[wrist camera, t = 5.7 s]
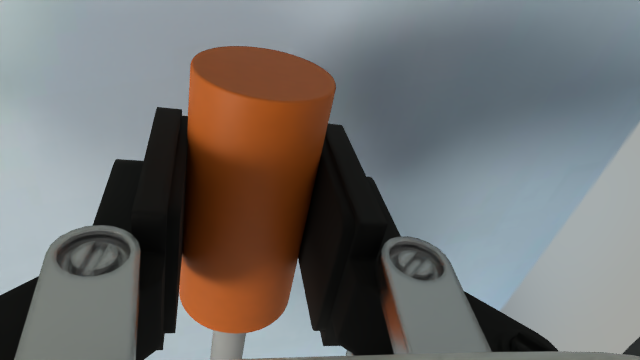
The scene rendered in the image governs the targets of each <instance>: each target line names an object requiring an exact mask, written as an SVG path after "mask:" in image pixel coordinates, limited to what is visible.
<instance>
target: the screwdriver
mask: <svg viewBox="0 0 640 360" xmlns="http://www.w3.org/2000/svg"><path fill="white" fill-rule="evenodd" d="M335 90H336V84H335V81H334V79H333V77H332V76H331V75H330V74H329V73H328V72H327V71H326V70H324V69H323V68H321V67H320V66H318V65H316V64H314V63H312V62H310V61H308V60H305V59H303V58H300V57H297V56H294V55H291V54H288V53H284V52H280V51H276V50H271V49H265V48H257V47H246V46H228V47H218V48H212V49H208V50H205V51H202V52H200V53H198V54H197V55H196V56H195V57H194V58H193V59H192V62H191V67H190V87H189V107H188V127H187V139H188V154H187V173H186V193H185V212H184V231H183V251H182V263H181V274H180V287H179V294H180V300H181V302H182V305H183V307H184V308H185V310H186V311H187V313H188V314H189V315H190V316H191V317H192V318H193V319H194V320H195V321H197V322H198V323H200V324H201V325H203V326H205V327H207V328H209V329H212V330H213V338H212V347H211V356H210V360H232V359H242V354H243V348H244V342H245V336H246V333H248V332H253V331H256V330H260V329H262V328H264V327H266V326H268V325H270V324H272V323H273V322H274V321H275V320H277V319H278V318H279V317H280V316H281V314H282V313H283V312H284V310H285V308H286V306H287V304H288V300H289V296H290V291H291V287H292V282H293V278H294V273H295V269H296V264H297V260H298V255H299V251H300V246H301V242H302V238H303V233H304V229H305V224H306V220H307V215H308V211H309V206H310V202H311V197H312V193H313V188H314V184H315V179H316V175H317V170H318V166H319V162H320V157H321V153H322V148H323V144H324V139H325V135H326V130H327V126H328V121H329V117H330V112H331V108H332V103H333V99H334V94H335Z"/></svg>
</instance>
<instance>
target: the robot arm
mask: <svg viewBox="0 0 640 360" xmlns="http://www.w3.org/2000/svg"><path fill="white" fill-rule="evenodd" d="M187 127H188V116H182V109H171V108H161V107H157V109H156V113H155V117H154V122H153V126H152V130H151V134H150V138H149V142H148V146H147V150H146V154H145V158H144V161H135V160H121V159H117V160H115V162H114V165H113V168H112V170H111V173H110V176H109V179H108V182H107V185H106V188H105V191H104V194H103V197H102V200H101V203H100V206H99V209H98V212H97V215H96V217H95V220H94V223H93V226H85V227H82V228H78V229H75V230H72V231H70V232H68V233H66V234H64V235H62V236H60V237H59V238H58V239H57V240H55V241H54V242H53V243H52V244H51V245H50V247H49V249H48V251H47V252H46V255H45V258H44V261H43V265H42V268H41V271H40V275H39V276H38V277H36V278H34V279H32V280H30V281H28V282H26V283H24V284H22V285H20V286H18V287H16V288H14V289H12V290H10V291H8V292H6V293H4V294H2V295H0V360H144V359H145V358H147V357H148V356H149V355H151V354H152V353H153V352H155V351H156V350H163V343H164V334H165V333H175V329H176V318H177V307H178V296H179V285H180V274H181V263H182V251H183V231H184V212H185V193H186V173H187V154H188V139H187ZM298 259H299V264H300V269H301V274H302V279H303V284H304V289H305V294H306V299H307V304H308V309H309V315H310V320H311V325H312V328H313V330H314V331H320V333H321V337H322V342H323V346H342V347H344V348H345V349H346V350H347V352H346V356H328V357H295V358H263V359H232V360H640V357H638V356H633V355H623V354H613V353H603V352H559V351H558V350H557V349H556V348H555V347H554V346H553V345H552V344H551V343H550V342H549V341H548V340H547V339H545V338H544V337H542V336H541V335H539V334H538V333H536V332H535V331H533V330H531V329H529V328H527V327H526V326H524V325H522V324H520V323H519V322H517V321H515V320H513V319H512V318H510V317H508V316H507V315H505V314H503V313H501V312H500V311H498V310H496V309H494V308H493V307H491V306H489V305H487V304H486V303H484V302H482V301H480V300H479V299H477V298H475V297H473V296H472V295H470V294H468V293H466V292H465V291H463V289H462V287H461V284H460V282H459V280H458V278H457V276H456V274H455V272H454V269H453V267H452V265H451V263H450V261H449V260H448V258H447V257H446V255H445V254H444V253H442V252H441V251H440V250H439V249H438V248H437V247H435V246H433V245H432V244H430V243H428V242H426V241H423V240H421V239H418V238H413V237H408V236H407V237H401V236H400V234H399V232H398V230H397V228H396V226H395V224H394V221H393V219H392V217H391V215H390V213H389V211H388V209H387V207H386V205H385V203H384V201H383V199H382V196H381V194H380V192H379V190H378V188H377V186H376V184H375V182H374V180H373V179H372V178H371V177H366V175H365V173H364V171H363V169H362V167H361V165H360V162H359V160H358V158H357V156H356V154H355V152H354V149H353V147H352V145H351V143H350V141H349V138H348V136H347V134H346V132H345V130H344V128H343V126H342V125H336V124H328V126H327V130H326V135H325V139H324V144H323V148H322V153H321V157H320V162H319V166H318V170H317V175H316V179H315V184H314V188H313V193H312V197H311V202H310V206H309V211H308V215H307V220H306V224H305V229H304V233H303V238H302V242H301V246H300V251H299V255H298Z"/></svg>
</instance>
